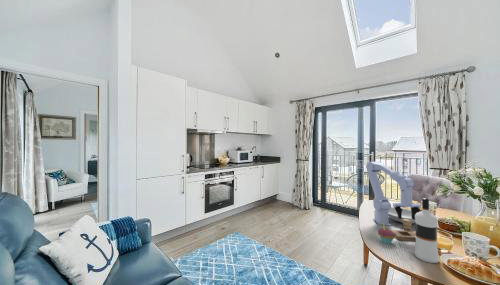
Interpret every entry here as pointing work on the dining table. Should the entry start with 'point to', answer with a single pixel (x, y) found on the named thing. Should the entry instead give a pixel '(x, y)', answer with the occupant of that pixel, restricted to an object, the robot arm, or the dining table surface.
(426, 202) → the vodka
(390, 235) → the cupcake
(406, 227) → the peg
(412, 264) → the dining table surface
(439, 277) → the dining table surface
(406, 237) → the seat board
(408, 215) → the soup bowl
